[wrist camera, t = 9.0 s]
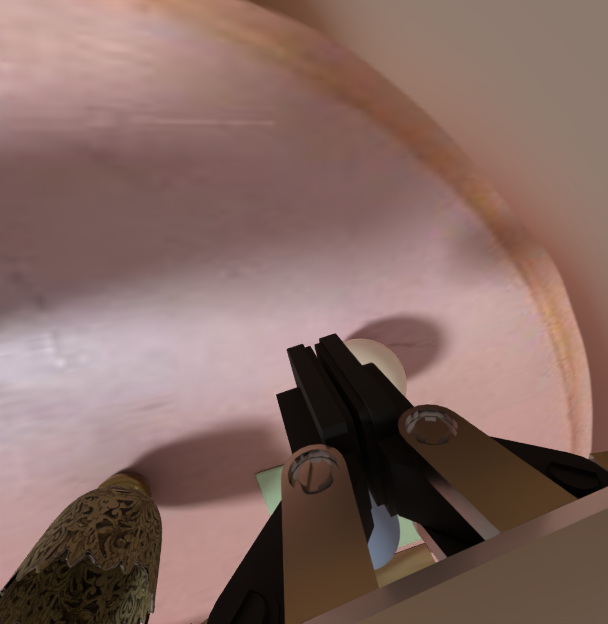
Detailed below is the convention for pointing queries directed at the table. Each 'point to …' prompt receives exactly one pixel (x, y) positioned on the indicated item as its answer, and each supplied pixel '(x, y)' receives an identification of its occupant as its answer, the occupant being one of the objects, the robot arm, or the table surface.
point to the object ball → (383, 535)
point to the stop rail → (404, 564)
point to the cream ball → (379, 360)
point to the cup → (92, 561)
